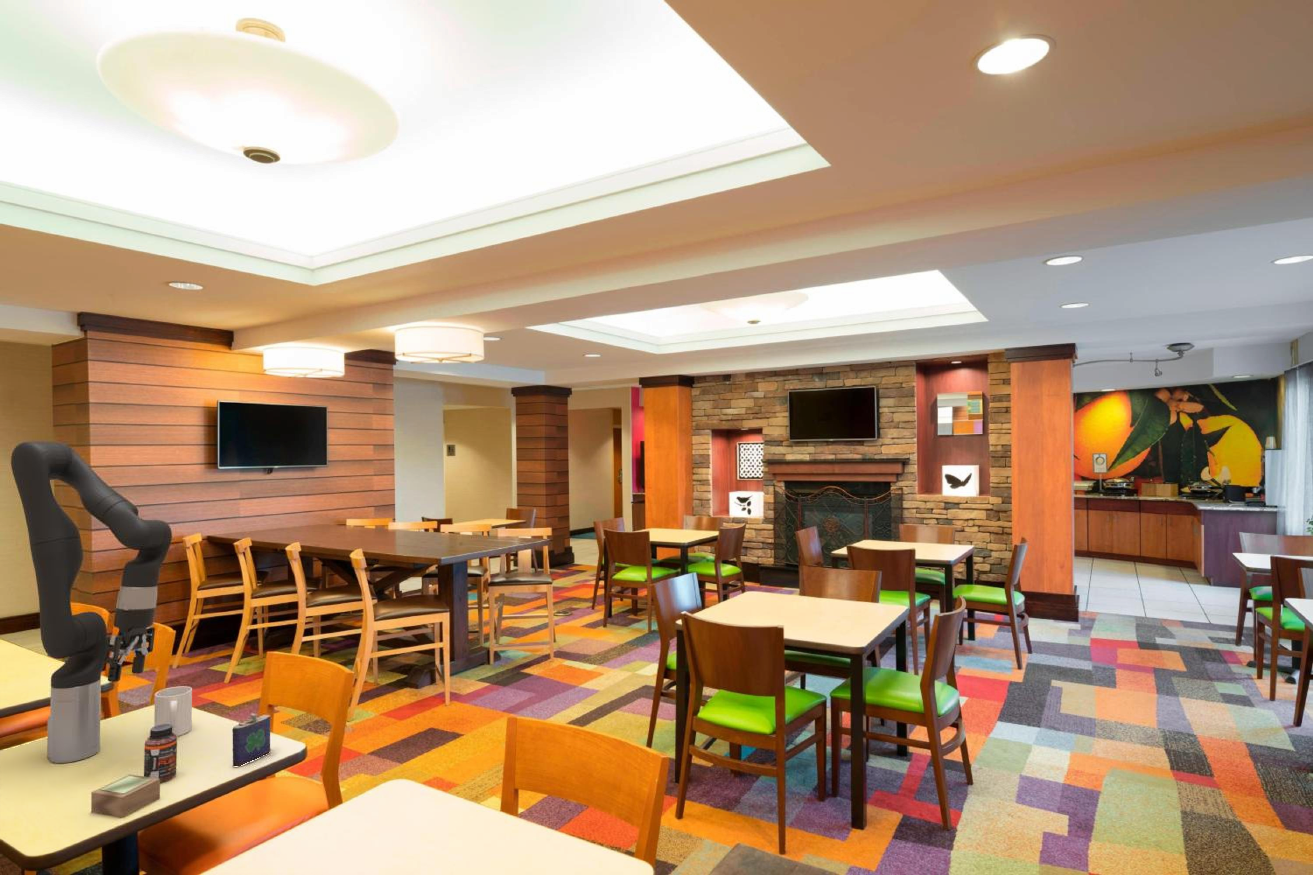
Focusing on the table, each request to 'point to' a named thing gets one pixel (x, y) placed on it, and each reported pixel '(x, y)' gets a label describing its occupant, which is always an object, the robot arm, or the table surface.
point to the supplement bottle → (160, 753)
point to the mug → (174, 709)
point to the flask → (251, 739)
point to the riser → (125, 795)
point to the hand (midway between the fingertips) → (125, 677)
